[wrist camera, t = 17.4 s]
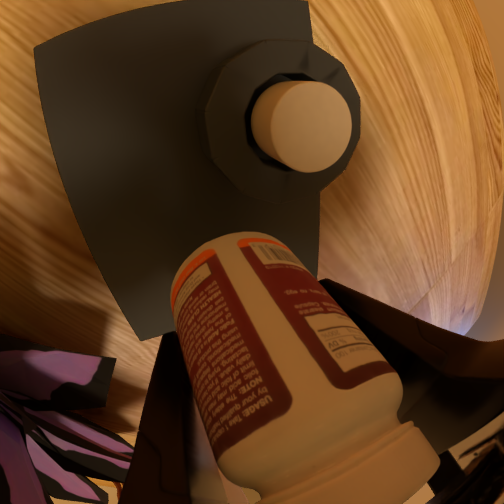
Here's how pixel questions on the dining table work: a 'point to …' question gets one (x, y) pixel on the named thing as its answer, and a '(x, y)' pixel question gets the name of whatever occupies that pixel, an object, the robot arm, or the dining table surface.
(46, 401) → the decorative flower
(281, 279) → the pill bottle
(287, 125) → the button
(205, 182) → the dark flat slab piece
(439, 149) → the dining table surface
